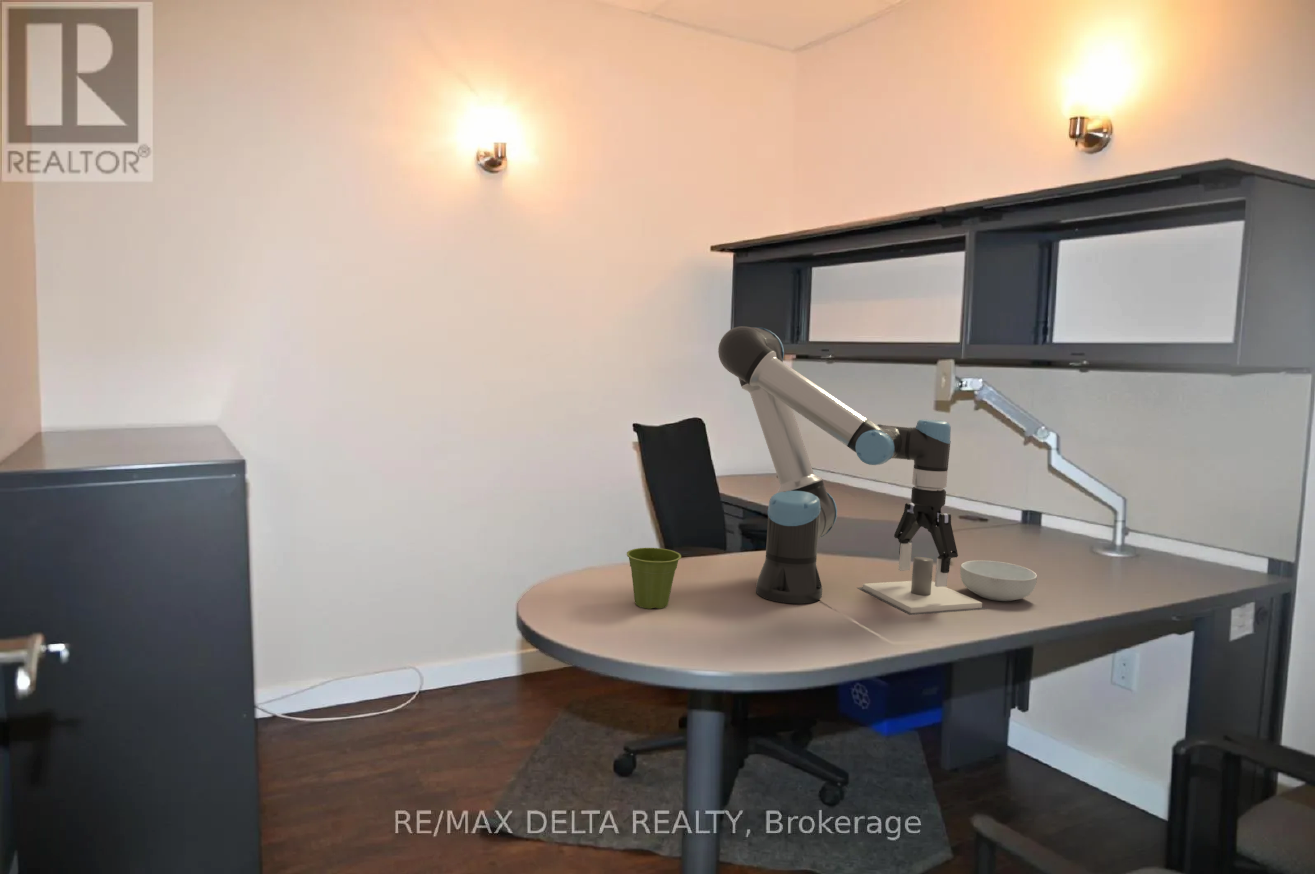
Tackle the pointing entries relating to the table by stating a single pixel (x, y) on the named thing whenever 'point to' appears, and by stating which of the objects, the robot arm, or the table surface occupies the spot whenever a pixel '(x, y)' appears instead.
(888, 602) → the mat
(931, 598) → the lid
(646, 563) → the plant pot
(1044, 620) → the table surface
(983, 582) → the cereal bowl
